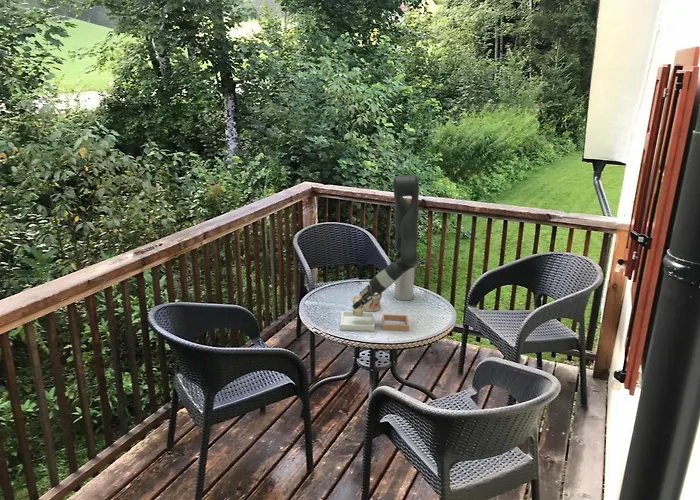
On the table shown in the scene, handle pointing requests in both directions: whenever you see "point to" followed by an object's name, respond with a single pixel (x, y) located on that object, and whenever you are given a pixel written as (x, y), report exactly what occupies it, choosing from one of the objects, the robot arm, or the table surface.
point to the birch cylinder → (359, 310)
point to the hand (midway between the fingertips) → (354, 305)
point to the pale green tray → (357, 322)
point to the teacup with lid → (373, 303)
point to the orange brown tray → (393, 326)
